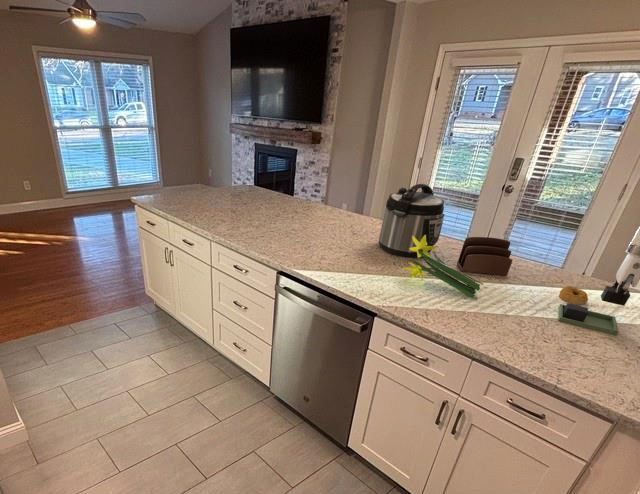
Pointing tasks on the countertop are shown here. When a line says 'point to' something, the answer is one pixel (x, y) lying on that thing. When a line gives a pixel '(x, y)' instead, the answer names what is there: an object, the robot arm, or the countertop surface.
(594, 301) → the countertop surface
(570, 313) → the seated pad
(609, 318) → the tray
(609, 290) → the loose pad
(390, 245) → the pressure cooker
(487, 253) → the letter holder
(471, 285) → the daffodil flowers
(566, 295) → the bagel
